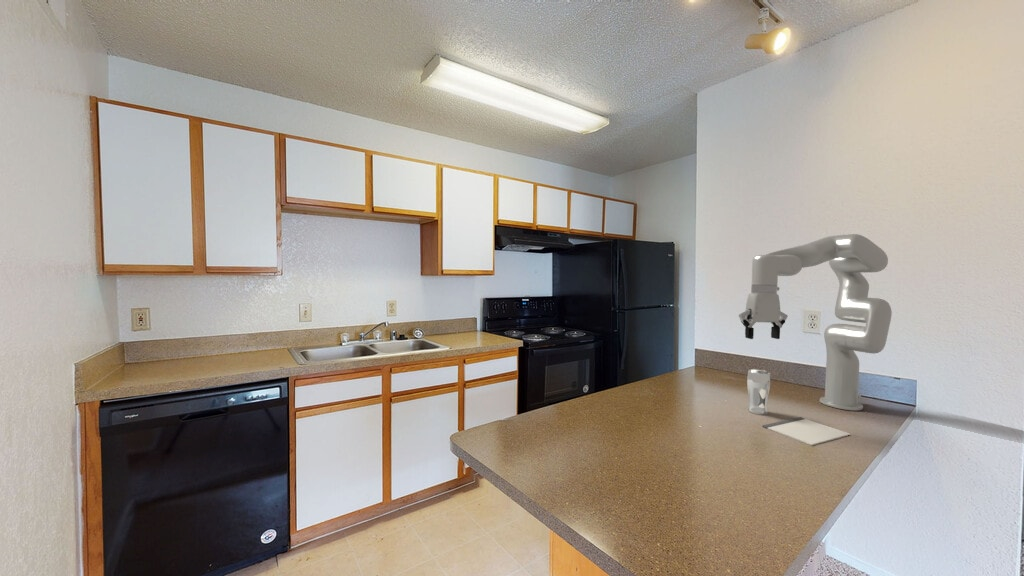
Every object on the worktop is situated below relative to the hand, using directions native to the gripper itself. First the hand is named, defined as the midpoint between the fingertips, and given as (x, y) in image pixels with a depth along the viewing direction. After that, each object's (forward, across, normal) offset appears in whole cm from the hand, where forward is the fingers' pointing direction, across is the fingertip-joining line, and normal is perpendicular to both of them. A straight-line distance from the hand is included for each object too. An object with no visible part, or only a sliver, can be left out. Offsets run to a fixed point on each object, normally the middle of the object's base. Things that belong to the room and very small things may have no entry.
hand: (762, 338), depth 130 cm
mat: (+28, -6, +13) cm, 31 cm away
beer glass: (+28, -2, -4) cm, 28 cm away
